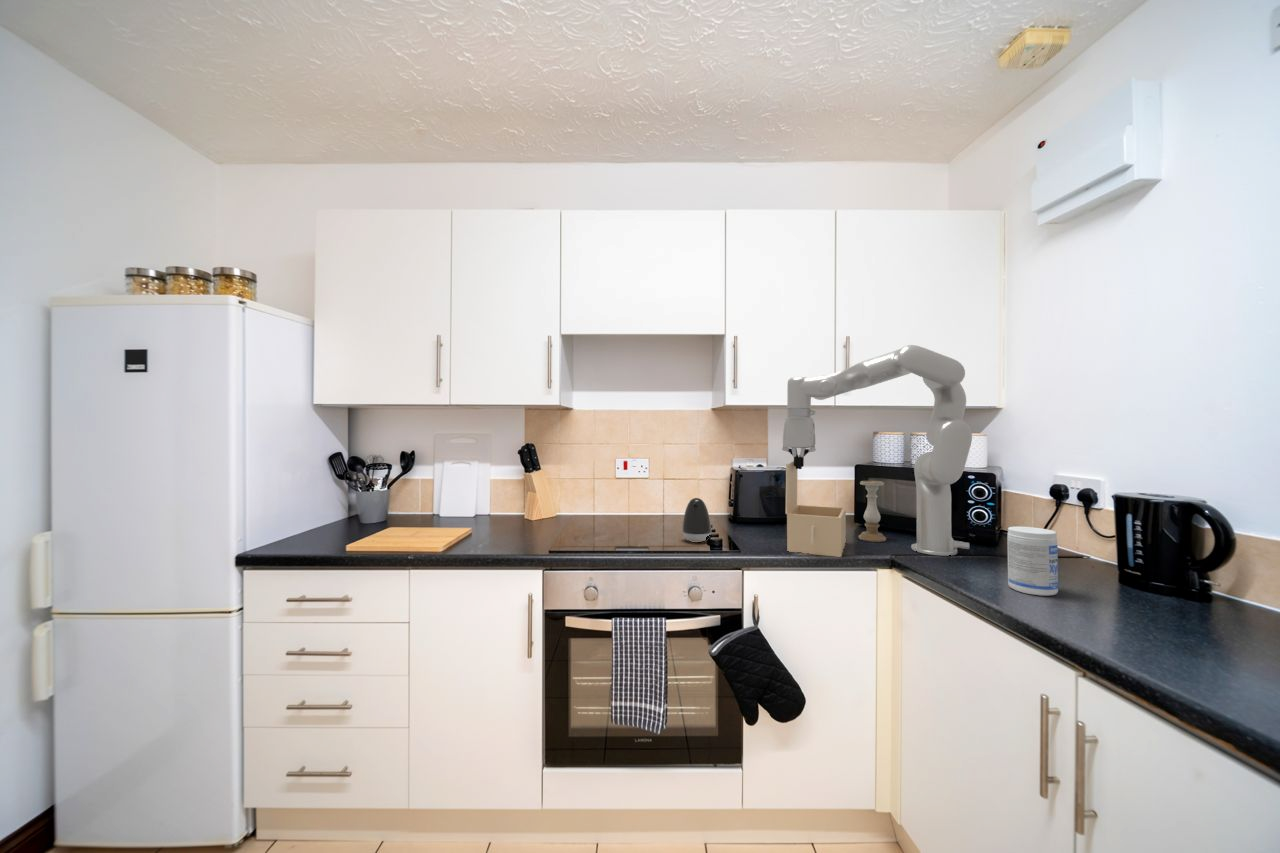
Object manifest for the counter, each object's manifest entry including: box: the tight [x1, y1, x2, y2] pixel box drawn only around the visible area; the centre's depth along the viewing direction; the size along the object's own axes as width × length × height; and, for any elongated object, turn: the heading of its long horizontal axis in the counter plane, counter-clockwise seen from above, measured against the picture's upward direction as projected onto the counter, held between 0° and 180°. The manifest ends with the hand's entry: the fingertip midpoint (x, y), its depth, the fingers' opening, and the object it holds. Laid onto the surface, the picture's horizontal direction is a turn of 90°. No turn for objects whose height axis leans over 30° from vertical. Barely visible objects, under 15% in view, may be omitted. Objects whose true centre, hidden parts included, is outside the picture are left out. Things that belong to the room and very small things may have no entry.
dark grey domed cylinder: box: [681, 497, 712, 542], centre depth 172 cm, size 10×10×15 cm
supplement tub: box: [1007, 526, 1059, 597], centre depth 119 cm, size 10×10×15 cm
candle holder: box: [858, 480, 887, 543], centre depth 174 cm, size 9×9×20 cm
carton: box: [786, 504, 847, 558], centre depth 161 cm, size 16×24×12 cm, turn 154°
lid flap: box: [785, 460, 798, 515], centre depth 167 cm, size 16×20×1 cm
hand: (798, 468), depth 166 cm, fingers closed
